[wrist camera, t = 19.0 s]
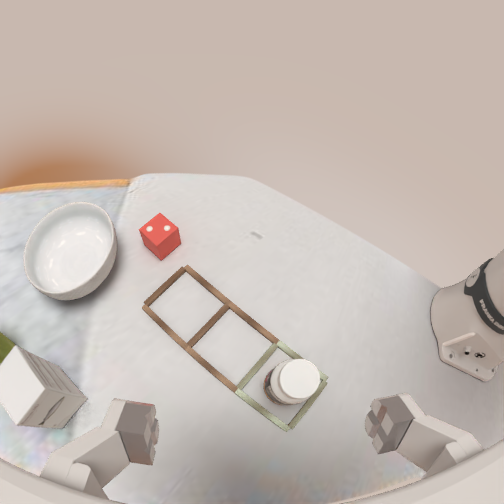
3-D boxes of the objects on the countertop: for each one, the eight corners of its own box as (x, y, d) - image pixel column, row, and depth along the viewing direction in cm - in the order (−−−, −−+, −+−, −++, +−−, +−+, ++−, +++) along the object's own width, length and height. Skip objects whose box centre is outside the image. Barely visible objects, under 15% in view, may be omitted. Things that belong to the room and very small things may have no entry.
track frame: (329, 379, 40) (330, 378, 39) (288, 433, 35) (289, 433, 35) (186, 264, 47) (185, 263, 47) (141, 307, 43) (140, 305, 42)
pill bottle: (282, 359, 41) (299, 343, 33) (310, 385, 39) (334, 376, 31) (254, 386, 39) (264, 378, 30) (283, 413, 37) (301, 413, 28)
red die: (181, 243, 49) (178, 227, 45) (161, 260, 47) (156, 245, 43) (163, 228, 50) (159, 212, 47) (144, 244, 48) (138, 229, 45)
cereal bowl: (55, 328, 39) (33, 312, 33) (34, 252, 45) (17, 231, 39) (140, 279, 45) (129, 257, 39) (107, 211, 51) (96, 186, 45)
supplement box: (63, 429, 31) (15, 427, 20) (35, 394, 33) (-15, 380, 22) (89, 399, 34) (45, 389, 24) (60, 364, 36) (14, 342, 25)
